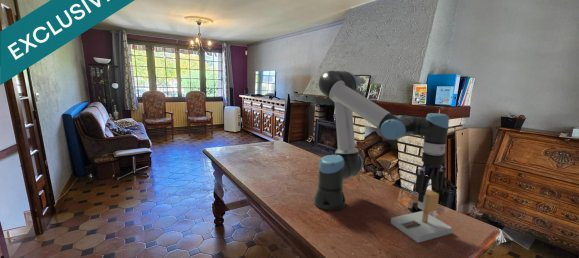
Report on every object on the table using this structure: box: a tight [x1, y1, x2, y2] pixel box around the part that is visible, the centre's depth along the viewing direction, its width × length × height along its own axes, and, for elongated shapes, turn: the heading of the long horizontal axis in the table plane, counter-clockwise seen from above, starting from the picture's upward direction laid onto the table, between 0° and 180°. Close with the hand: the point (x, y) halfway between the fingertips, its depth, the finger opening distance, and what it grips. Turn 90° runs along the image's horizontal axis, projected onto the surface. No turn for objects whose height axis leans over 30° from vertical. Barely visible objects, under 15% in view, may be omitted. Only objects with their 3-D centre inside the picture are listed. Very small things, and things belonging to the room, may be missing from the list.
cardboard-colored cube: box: [417, 189, 440, 213], centre depth 101 cm, size 5×5×7 cm
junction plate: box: [390, 211, 453, 244], centre depth 102 cm, size 18×14×8 cm
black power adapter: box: [407, 202, 423, 213], centre depth 115 cm, size 12×7×5 cm, turn 4°
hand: (426, 207), depth 102 cm, fingers closed on cardboard-colored cube, 5 cm apart
